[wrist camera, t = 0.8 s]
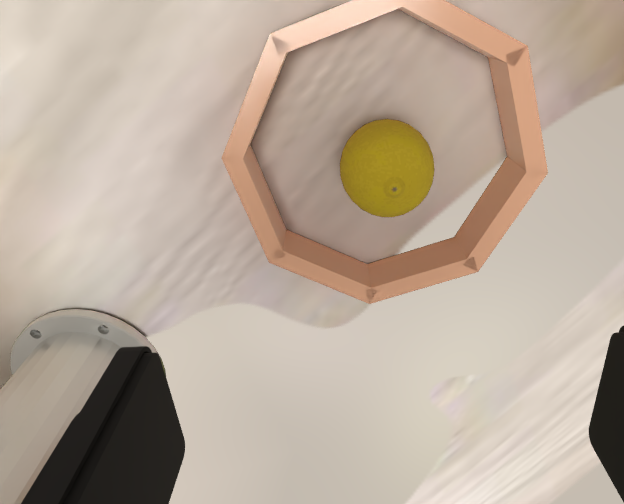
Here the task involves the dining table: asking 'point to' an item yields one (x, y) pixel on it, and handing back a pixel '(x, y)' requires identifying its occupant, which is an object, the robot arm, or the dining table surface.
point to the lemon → (387, 168)
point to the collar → (484, 216)
